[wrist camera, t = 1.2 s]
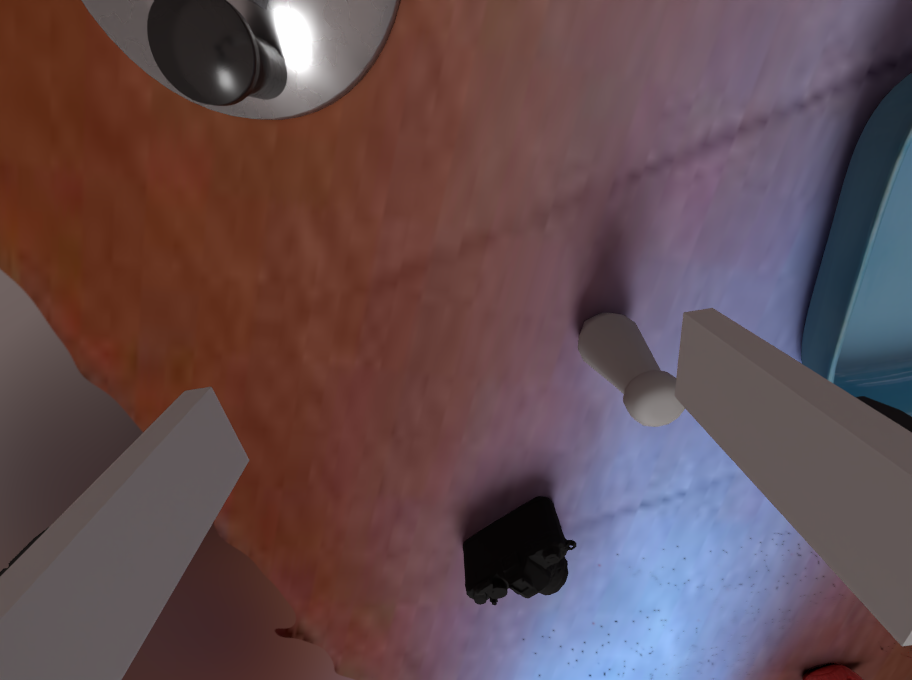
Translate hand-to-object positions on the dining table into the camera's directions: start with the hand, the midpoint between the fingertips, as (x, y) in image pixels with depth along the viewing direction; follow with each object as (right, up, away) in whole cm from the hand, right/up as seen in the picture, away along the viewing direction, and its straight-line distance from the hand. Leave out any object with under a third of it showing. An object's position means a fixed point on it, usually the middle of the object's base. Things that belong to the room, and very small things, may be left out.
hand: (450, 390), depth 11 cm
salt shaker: (+15, +2, +30) cm, 33 cm away
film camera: (+9, -25, +43) cm, 50 cm away
